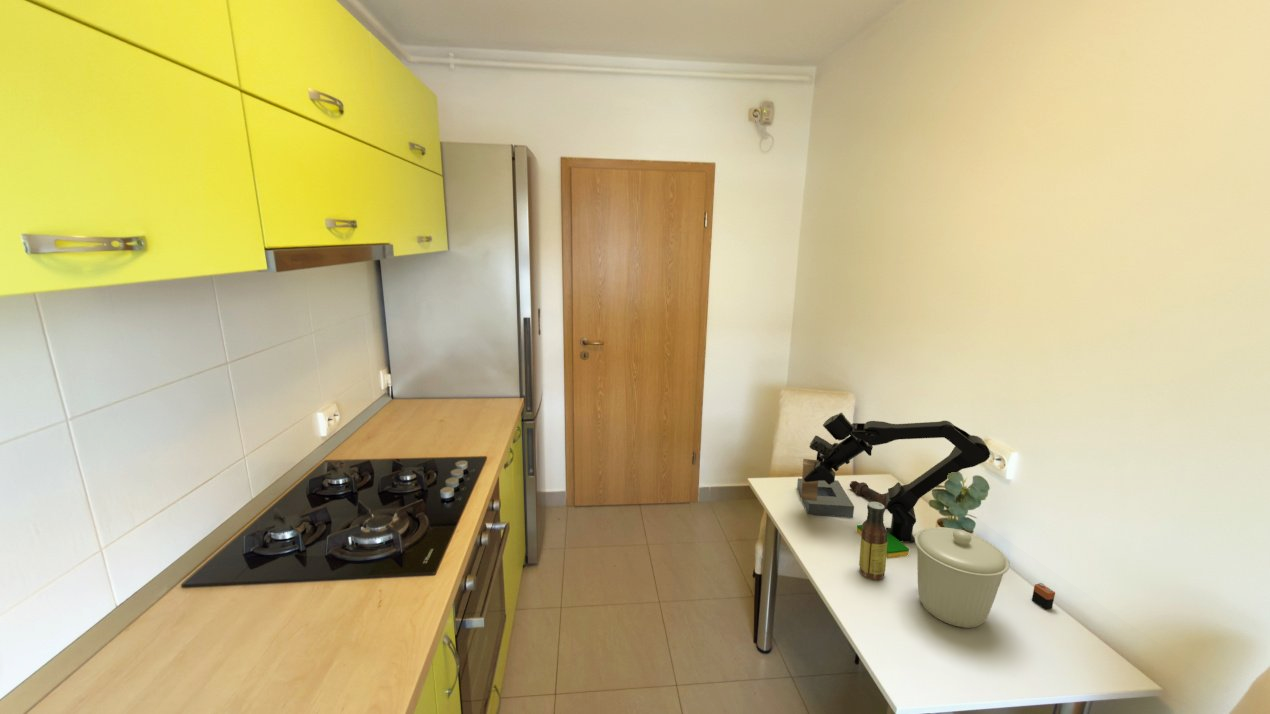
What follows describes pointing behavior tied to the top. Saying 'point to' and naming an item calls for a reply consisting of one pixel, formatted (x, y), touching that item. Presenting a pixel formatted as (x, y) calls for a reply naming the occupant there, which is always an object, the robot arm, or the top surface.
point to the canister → (958, 575)
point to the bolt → (868, 492)
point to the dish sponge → (891, 545)
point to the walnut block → (809, 487)
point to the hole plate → (828, 500)
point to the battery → (1043, 596)
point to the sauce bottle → (873, 543)
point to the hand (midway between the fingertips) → (805, 477)
